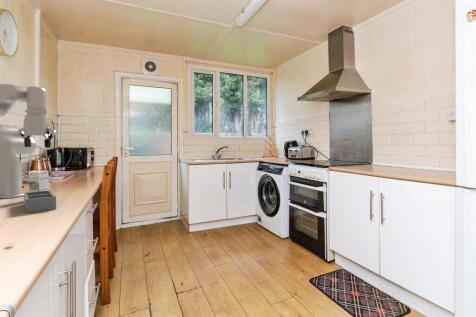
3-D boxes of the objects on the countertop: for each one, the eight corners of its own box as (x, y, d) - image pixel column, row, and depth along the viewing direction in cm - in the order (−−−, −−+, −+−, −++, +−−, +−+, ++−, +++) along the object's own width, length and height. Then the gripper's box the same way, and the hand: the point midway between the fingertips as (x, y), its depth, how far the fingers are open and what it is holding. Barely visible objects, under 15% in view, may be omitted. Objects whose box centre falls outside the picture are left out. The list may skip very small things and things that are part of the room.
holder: (24, 204, 115) (23, 192, 115) (51, 201, 122) (50, 190, 122) (25, 213, 101) (25, 199, 101) (56, 209, 108) (56, 196, 108)
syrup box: (49, 198, 129) (48, 170, 128) (39, 200, 123) (38, 171, 122) (39, 197, 129) (38, 170, 128) (28, 200, 123) (27, 171, 123)
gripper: (12, 111, 119) (13, 146, 120) (49, 112, 120) (50, 147, 121) (25, 112, 127) (26, 146, 128) (60, 114, 127) (60, 147, 128)
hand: (37, 147), depth 124 cm, fingers open, 9 cm apart
